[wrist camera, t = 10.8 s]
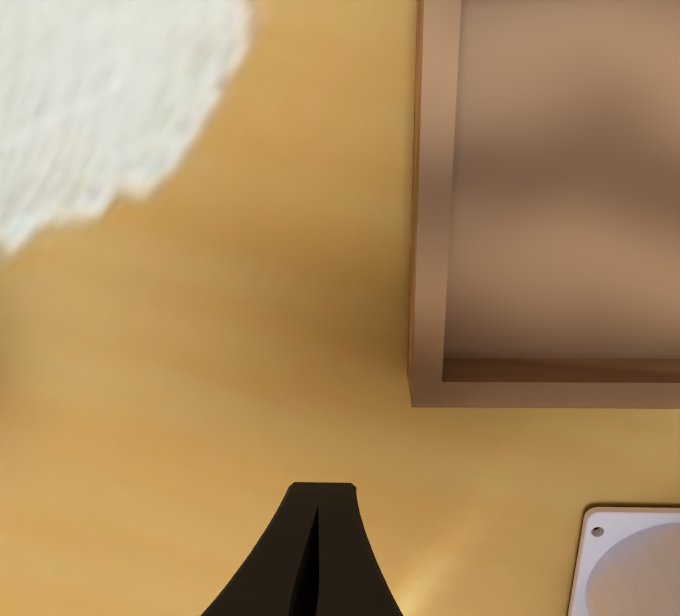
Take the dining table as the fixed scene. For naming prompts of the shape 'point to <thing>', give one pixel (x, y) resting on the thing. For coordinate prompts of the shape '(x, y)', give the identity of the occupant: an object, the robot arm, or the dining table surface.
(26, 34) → the dining table surface
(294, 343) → the dining table surface
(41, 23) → the dining table surface
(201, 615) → the robot arm
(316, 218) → the dining table surface
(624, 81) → the walnut box
